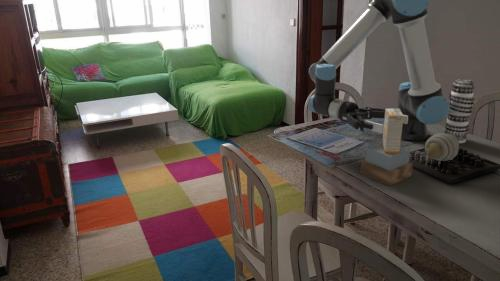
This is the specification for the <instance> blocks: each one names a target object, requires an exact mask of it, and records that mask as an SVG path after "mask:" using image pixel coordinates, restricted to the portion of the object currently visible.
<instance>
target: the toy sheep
mask: <svg viewBox="0 0 500 281" xmlns="http://www.w3.org/2000/svg"><path fill="white" fill-rule="evenodd" d="M459 149H460V143H459V142H458V140H457V138H456V137H455V136H453V135H451V134H448V133H444V132H441V133H435V134H433V135H431V136H430V137H429V138H428V139H427V140H426V142H425V145H424V152H425V154H426V157H427V156H428V157H429V158H431V159H430V160H432V159H439V160H452V161H453V159H454V158H456V157H457V155H458V153H459Z"/></svg>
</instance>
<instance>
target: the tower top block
mask: <svg viewBox="0 0 500 281" xmlns="http://www.w3.org/2000/svg"><path fill="white" fill-rule="evenodd" d="M410 156H411V148H408V147H405V146H402V145H400V151H399V153H385V152H384V149H383V146H382V141H381V142H379V143H377V144H372V145H371V146H367V147H366V149H365V161H366V162H369V163H371V164H374V165H376V166H379V167H381V168H384V169H386V170H388V171H391V170H393V169H396V168H398V167H400V166H403V165H405V164H408V163H409V162H410Z"/></svg>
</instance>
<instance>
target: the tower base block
mask: <svg viewBox="0 0 500 281" xmlns="http://www.w3.org/2000/svg"><path fill="white" fill-rule="evenodd" d="M413 167H414V162H412V161H409V163H408V164H405V165H403V166H400V167H398V168H396V169H393V170H391V171H388V170H386V169H384V168H381V167H379V166H376V165H374V164H371V163H369V162H366V161H365V160H362V161H361V162H360V175H364V176H365V177H368V178H371V179H373V180H375V181H378V182H379V183H382V184H385V185H386V186H387V185H388V187H389V186H392V185H395V184H397V183H399V182H401V181H403V180H406V179H407V178H409V177H411V176H412V175H413Z"/></svg>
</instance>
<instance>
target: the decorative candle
mask: <svg viewBox="0 0 500 281" xmlns="http://www.w3.org/2000/svg"><path fill="white" fill-rule="evenodd" d="M476 86H477V85H476V84H475V82H474V81H473V80H472V79H464V78H463V79H461V78H460V79H456V80H455V81H454V82H453V83H452V90H451V92H450V93H449V96H448V99H449V100H447V101H448V102H449V105H450V109H449V112H448V114H447V118H446V122H445V126H444V132H443V133H448V134H451V135H453V136H455V137H456V138H457V140H458V142H459V144H465V143H466V142H467V139H468V131H469V127H470V125H469V119H470V115H471V114H472V113H473V112H472V110H473V107H472V106H471V105H474V102H473V101H475V98H474V94H475V92H474V90H475V87H476Z"/></svg>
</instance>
